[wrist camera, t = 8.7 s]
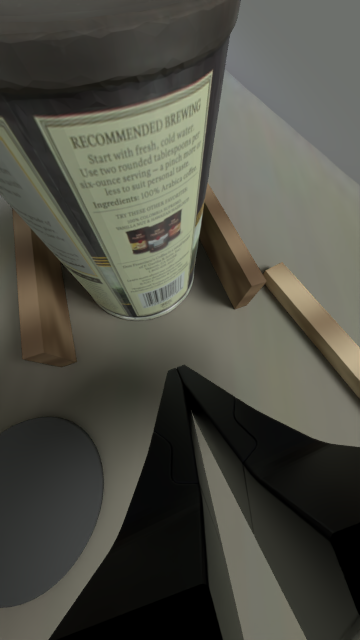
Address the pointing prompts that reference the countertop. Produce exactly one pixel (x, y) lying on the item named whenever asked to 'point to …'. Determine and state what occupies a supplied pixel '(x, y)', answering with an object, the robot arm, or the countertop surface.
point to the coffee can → (113, 137)
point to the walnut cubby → (50, 298)
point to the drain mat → (45, 504)
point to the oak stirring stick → (316, 324)
